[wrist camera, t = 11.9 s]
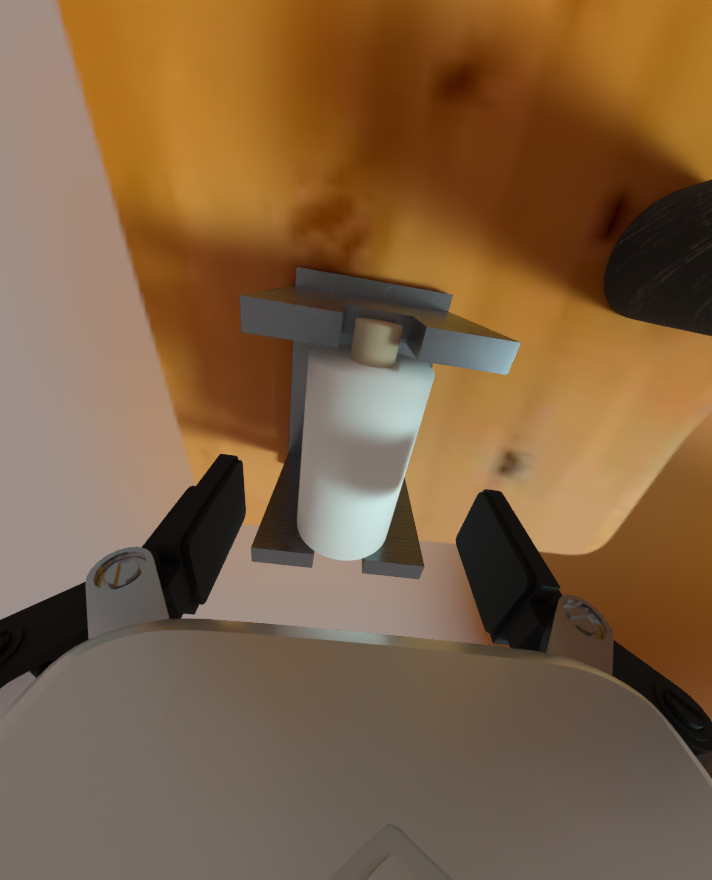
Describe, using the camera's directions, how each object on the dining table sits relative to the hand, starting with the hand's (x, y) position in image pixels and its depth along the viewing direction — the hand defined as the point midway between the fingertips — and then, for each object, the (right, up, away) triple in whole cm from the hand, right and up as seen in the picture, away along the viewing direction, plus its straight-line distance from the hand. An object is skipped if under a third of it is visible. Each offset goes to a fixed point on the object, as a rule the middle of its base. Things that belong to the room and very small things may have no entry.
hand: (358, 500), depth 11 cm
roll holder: (0, +6, +12) cm, 13 cm away
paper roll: (0, +3, +6) cm, 7 cm away
